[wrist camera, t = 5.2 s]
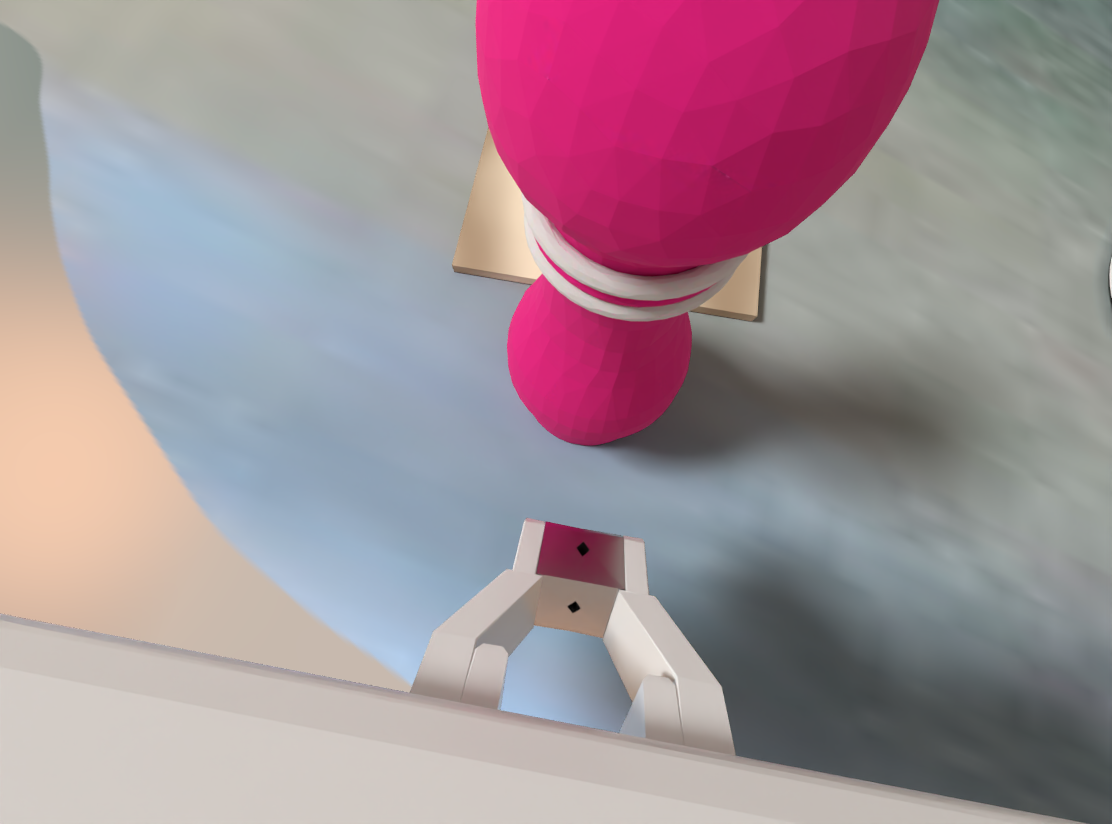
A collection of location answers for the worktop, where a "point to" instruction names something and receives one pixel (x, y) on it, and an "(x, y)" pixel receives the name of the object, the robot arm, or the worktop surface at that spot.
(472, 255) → the wooden board
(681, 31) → the pepper mill
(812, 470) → the worktop surface
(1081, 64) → the worktop surface
